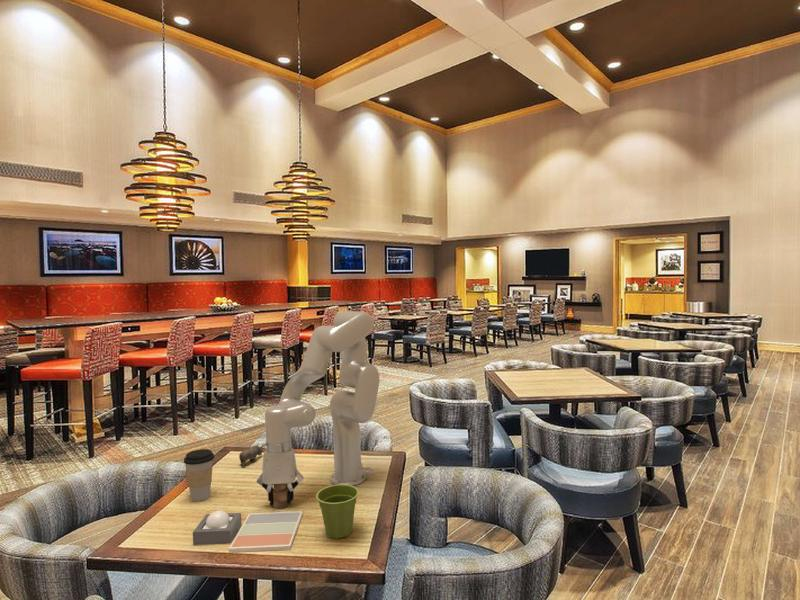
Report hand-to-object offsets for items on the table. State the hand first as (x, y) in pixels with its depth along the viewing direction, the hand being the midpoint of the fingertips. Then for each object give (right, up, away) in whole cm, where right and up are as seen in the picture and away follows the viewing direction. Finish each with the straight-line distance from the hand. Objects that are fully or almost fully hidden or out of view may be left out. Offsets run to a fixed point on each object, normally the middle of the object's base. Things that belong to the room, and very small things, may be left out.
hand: (281, 501), depth 149 cm
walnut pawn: (0, -1, 0) cm, 1 cm away
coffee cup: (-28, -2, +7) cm, 29 cm away
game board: (0, -2, -16) cm, 16 cm away
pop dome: (-14, -2, -17) cm, 22 cm away
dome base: (-14, -2, -17) cm, 22 cm away
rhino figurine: (-21, -1, +39) cm, 44 cm away
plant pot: (+21, -1, -17) cm, 27 cm away
